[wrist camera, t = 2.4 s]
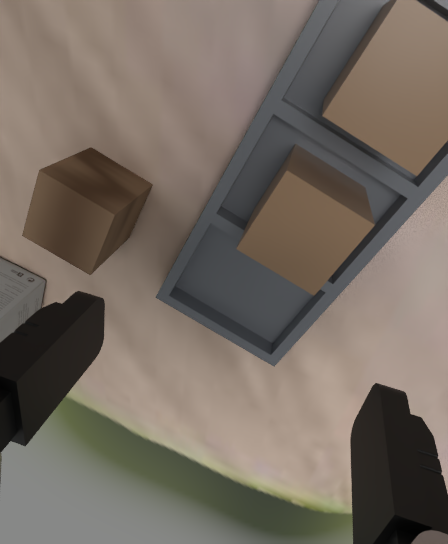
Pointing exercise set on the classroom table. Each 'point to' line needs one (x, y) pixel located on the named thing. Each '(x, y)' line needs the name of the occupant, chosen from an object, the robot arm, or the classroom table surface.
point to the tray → (251, 169)
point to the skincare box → (17, 296)
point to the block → (85, 208)
